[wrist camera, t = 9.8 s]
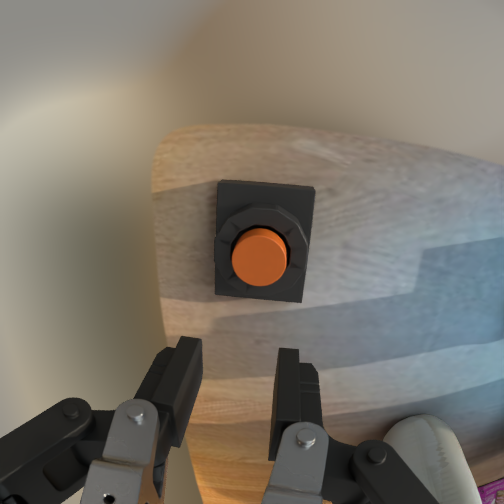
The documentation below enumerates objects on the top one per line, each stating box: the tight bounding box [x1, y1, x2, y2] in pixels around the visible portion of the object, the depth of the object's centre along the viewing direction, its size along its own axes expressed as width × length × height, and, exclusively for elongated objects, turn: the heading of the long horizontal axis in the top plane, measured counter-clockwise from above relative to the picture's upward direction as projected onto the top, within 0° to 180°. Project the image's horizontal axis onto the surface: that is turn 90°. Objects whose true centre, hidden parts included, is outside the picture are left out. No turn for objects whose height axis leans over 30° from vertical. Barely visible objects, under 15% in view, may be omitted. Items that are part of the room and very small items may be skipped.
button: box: [232, 228, 286, 286], centre depth 22 cm, size 4×4×2 cm
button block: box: [214, 180, 316, 303], centre depth 24 cm, size 9×7×4 cm
